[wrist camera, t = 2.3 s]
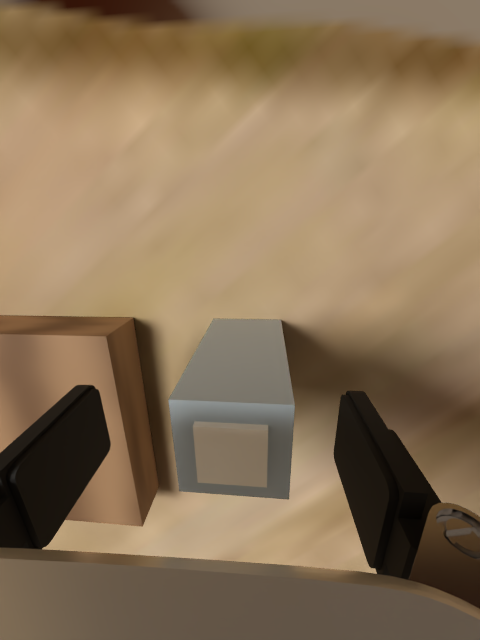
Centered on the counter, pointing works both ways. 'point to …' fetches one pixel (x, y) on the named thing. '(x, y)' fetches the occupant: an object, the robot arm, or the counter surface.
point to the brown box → (116, 395)
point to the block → (235, 412)
